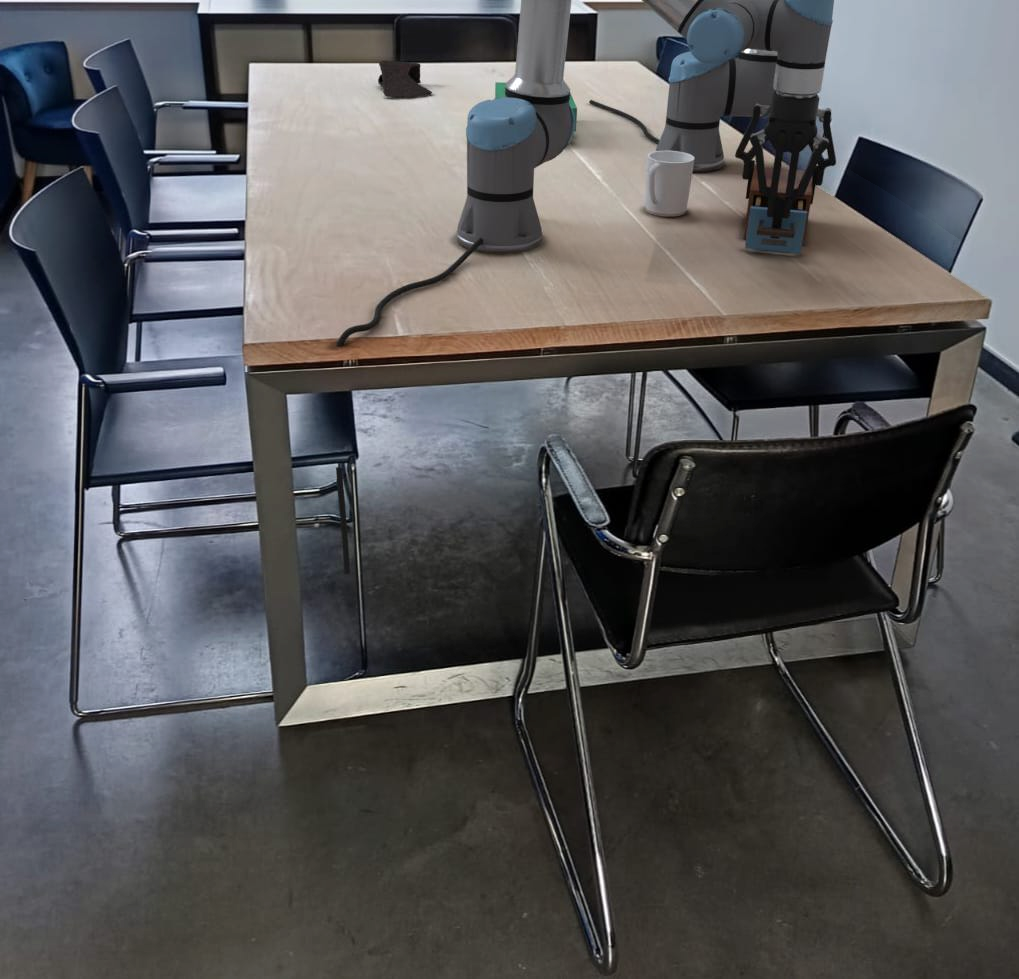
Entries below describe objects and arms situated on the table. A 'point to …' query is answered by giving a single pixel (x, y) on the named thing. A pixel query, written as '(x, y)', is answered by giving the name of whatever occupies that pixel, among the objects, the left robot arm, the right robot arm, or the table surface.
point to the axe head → (401, 79)
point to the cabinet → (781, 191)
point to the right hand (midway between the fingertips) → (779, 199)
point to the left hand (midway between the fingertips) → (775, 235)
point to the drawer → (787, 234)
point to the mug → (668, 182)
